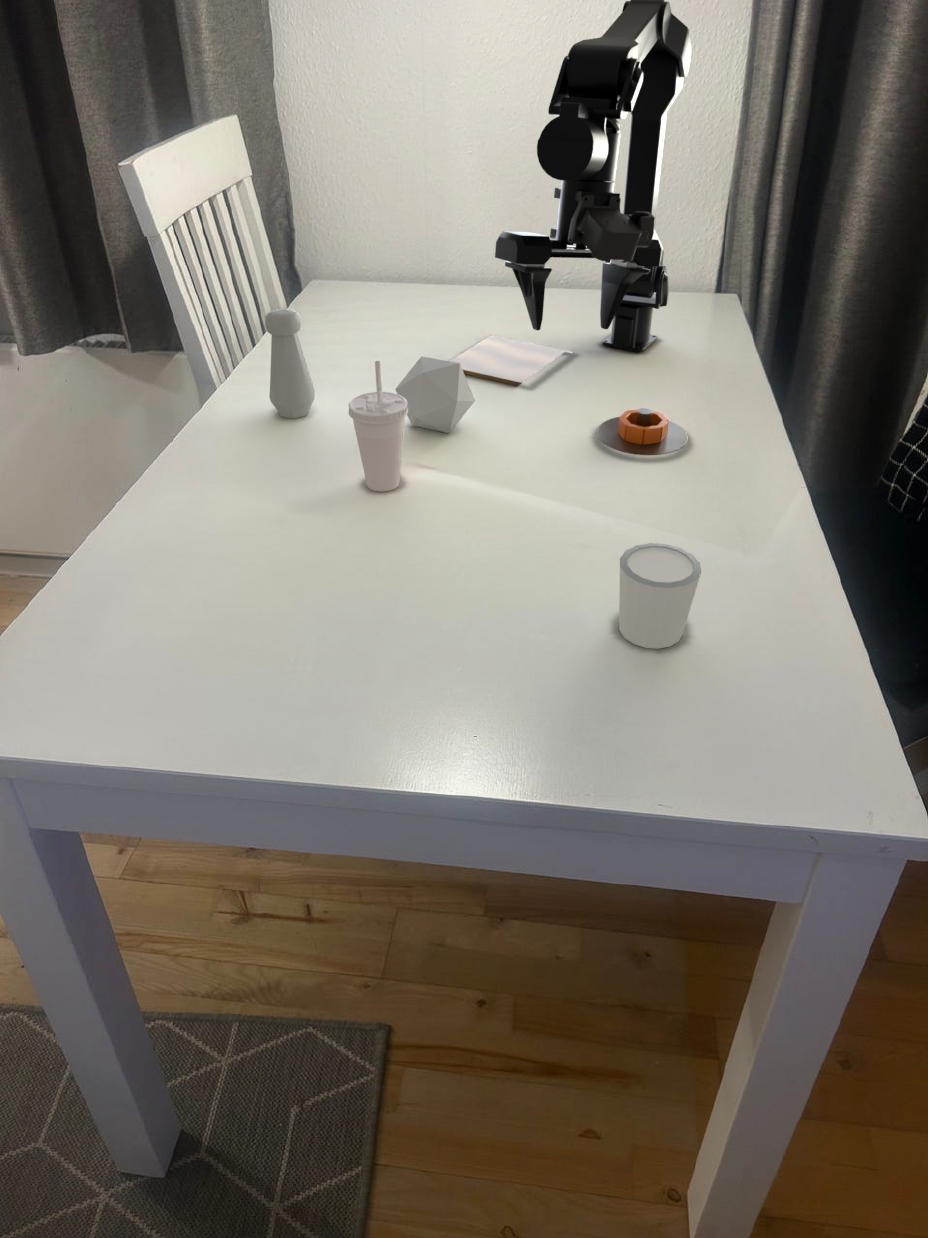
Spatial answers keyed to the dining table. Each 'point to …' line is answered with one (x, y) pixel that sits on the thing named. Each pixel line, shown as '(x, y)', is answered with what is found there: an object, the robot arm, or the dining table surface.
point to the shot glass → (656, 593)
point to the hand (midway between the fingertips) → (571, 329)
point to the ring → (642, 428)
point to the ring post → (669, 444)
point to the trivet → (506, 359)
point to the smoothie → (380, 434)
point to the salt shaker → (288, 366)
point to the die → (436, 394)
